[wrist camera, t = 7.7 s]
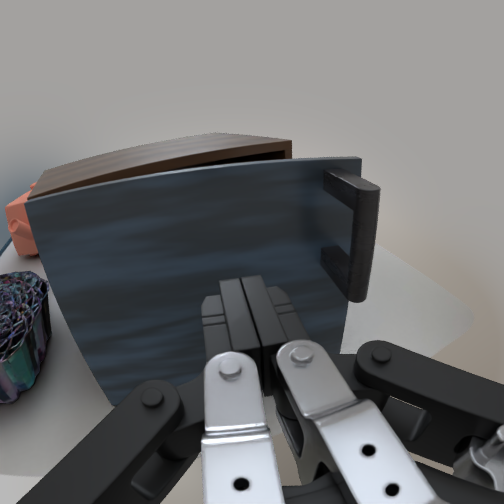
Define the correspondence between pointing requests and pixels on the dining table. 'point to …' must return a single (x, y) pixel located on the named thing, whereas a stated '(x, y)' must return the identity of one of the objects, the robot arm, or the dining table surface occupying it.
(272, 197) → the cupboard door
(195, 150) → the cupboard
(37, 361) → the decorative bowl
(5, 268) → the dining table surface
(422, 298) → the dining table surface
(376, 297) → the dining table surface
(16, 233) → the teapot
